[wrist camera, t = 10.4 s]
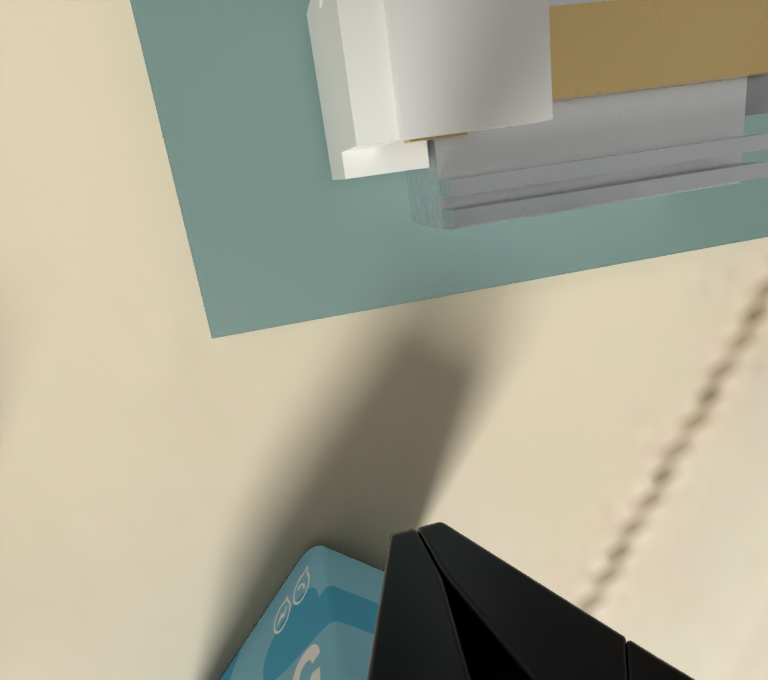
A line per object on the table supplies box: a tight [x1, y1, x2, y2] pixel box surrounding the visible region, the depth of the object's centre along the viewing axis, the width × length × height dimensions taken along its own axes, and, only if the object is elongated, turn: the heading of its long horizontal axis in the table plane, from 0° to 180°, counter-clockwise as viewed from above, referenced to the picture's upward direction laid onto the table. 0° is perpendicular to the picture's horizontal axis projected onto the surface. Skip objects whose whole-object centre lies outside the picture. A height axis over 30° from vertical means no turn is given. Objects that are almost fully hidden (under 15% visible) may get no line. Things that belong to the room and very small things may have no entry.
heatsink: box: [406, 0, 768, 231], centre depth 16 cm, size 12×8×4 cm
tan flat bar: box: [404, 0, 768, 144], centre depth 15 cm, size 12×3×1 cm, turn 98°
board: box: [130, 0, 768, 338], centre depth 19 cm, size 24×14×1 cm, turn 98°
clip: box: [307, 0, 553, 180], centre depth 14 cm, size 5×5×6 cm
